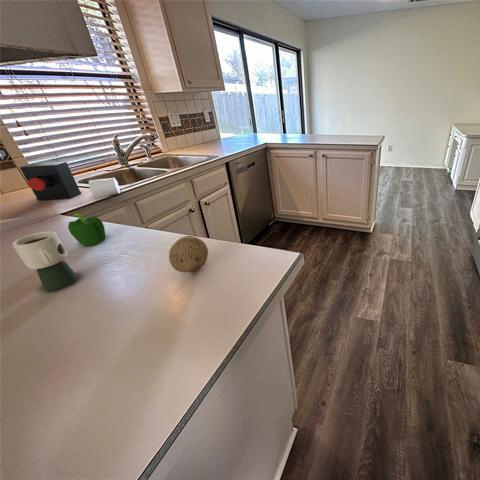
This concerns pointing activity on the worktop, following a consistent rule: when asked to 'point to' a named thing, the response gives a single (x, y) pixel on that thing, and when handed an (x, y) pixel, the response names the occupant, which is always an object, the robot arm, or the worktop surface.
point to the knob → (39, 183)
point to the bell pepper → (87, 230)
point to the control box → (52, 180)
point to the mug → (104, 187)
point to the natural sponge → (188, 254)
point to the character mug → (46, 259)
